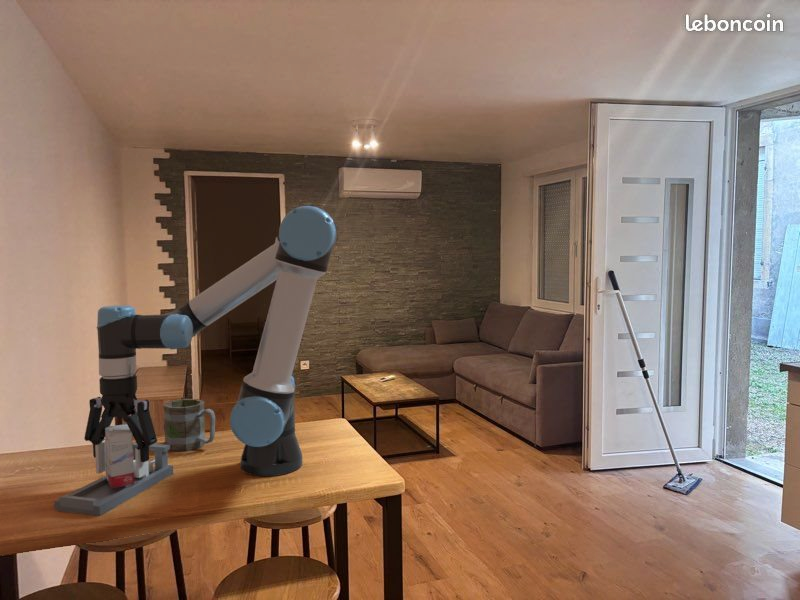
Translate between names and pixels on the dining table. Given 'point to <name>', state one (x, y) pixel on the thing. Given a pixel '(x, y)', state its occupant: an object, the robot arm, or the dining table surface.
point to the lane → (105, 498)
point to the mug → (186, 425)
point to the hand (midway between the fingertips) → (121, 473)
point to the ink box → (119, 456)
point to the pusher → (149, 468)
